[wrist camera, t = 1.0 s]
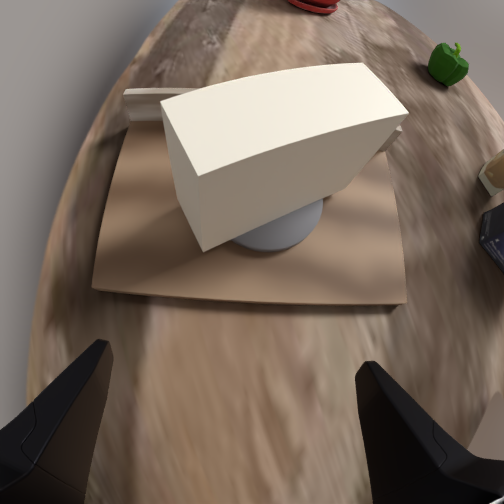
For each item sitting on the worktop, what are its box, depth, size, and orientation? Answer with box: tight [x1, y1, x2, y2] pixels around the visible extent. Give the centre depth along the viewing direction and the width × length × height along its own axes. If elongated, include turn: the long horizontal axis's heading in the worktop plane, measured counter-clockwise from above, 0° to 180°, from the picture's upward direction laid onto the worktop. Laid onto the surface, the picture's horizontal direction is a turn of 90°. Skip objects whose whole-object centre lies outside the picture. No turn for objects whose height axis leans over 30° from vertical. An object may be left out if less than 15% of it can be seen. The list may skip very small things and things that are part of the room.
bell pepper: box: [428, 43, 469, 86], centre depth 37 cm, size 8×8×10 cm
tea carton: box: [160, 63, 409, 252], centre depth 19 cm, size 10×14×12 cm
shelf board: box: [91, 88, 407, 306], centre depth 24 cm, size 18×28×6 cm, turn 88°
